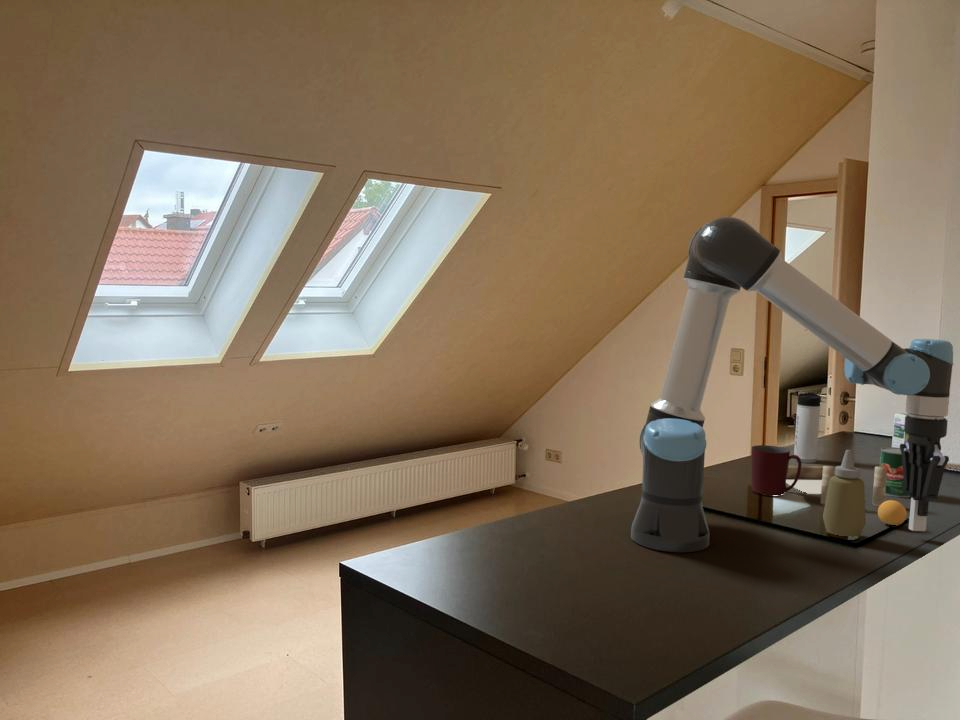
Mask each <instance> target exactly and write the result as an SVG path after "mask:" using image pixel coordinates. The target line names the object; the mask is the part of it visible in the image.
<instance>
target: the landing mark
mask: <svg viewBox="0 0 960 720" xmlns="http://www.w3.org/2000/svg"><path fill="white" fill-rule="evenodd" d="M794 480H795V479H786V484H787V485H789V487H790V486H791V485H792V483H793V482H794ZM793 489H795V490H797V489H798V490H797V491H799V490H800V491H799V492H801V491H802V492H801V493H803V492H806V493H807V494H806V495H820V494H821V489H822V479H798V481H797V483H796V484H795V486H794V487H793Z"/></svg>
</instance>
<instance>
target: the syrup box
mask: <svg viewBox="0 0 960 720" xmlns="http://www.w3.org/2000/svg"><path fill="white" fill-rule="evenodd" d="M908 414H909V413H907V412H898V413H894V417H893V427H892V441H891V447H896V448H900V444H906V443H908V438H909V436H910V435H909V434H906V433H905V432H904V425H905V417H906V416H907V415H908Z"/></svg>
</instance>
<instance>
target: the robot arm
mask: <svg viewBox="0 0 960 720" xmlns="http://www.w3.org/2000/svg"><path fill="white" fill-rule="evenodd" d="M782 253H783V252H782V250H780V249H779V248H778V247H777V246H776V245H774V244H773V243H771V242H770V240H768V239H767V238H765V237H764V236H763V235H762V234H761V233H760V232H758V231H757V230H756V229H755V228H754V227H752V226H751V224H749V223H748V222H746V221H745V220H742V219H741V218H736V217H732V216H726V217H724V216H723V217H718V218H716V219H713V220H712V221H710V222H708V223H706V224H704V225H703V226H702V227H700V228H699V229H698V230H697V231H696V232H695V233H694V235H693V237H692V238H691V240H690V242H689V246H688V260H687V262H686V263H687V264H686V267H685V272H684V275H683V281H684V283H685V285H686V286H687V293H686V296H685V300H684V304H683V307H682V308H683V309H682V312H681V315H680V319H679V323H678V326H677V327H678V328H677V331H676V335H675V339H674V343H673V346H672V350H671V353H670V358H669V362H668V365H667V369H666V373H665V377H664V381H663V385H662V388H661V392H660V396H659V398H658V399H656V400H654V401H653V402H651V403H650V406H649V408H648V409H649V410H648V413H647V416H646V421H645V424H644V425H643V428H641V431H640V433H639V434H640V435H639V441H638V443H639V449H640V453H641V455H642V459H643V460H642V462H643V463H642V481H641V482H642V483H641V485H642V486H641V500H640V503H639V506H638V508H637V510H636V513H635V515H634V519H633V521H632V524H631V526H630V527H631V531H630V538H631V539H632V541H634V543H636V544H638V545H640V546H642V547H645V548H648V549H652V550H656V551H661V552H668V553H669V552H670V553H694V552H699V551H700V552H701V551H703V550H706V549H707V548H708V547H709V546H710V536H711V535H710V529H709V527H708V523H707V519H706V516H705V511H704V508H703V492H704V475H705V474H704V473H705V457H706V453H705V452H706V449H707V439H706V431H705V430H704V428H703V427H704V424H705V420H706V417H705V415H704V413H703V412H702V409H701V406H702V403H703V399H704V395H705V391H706V388H707V384H708V381H709V377H710V372H711V370H712V365H713V363H714V358H715V355H716V351H717V347H718V343H719V340H720V336H721V332H722V328H723V325H724V321H725V317H726V314H727V309H728V306H729V303H730V299H731V298H732V297H733V296H735V295H737V294H739V293H740V291H741V288H742V289H743V290H744V291H746V292H756V293H758V294H759V295H761V296H762V297H763V298H764V299H765V300H767V301H768V302H770V303H771V304H773V305H774V306H775V307H776V308H778V309H779V310H781V311H782V312H783V313H785V314H786V315H787V316H789V317H790V318H791V319H793V320H794V321H795V322H797V323H798V324H799V325H801V326H802V327H803V328H805V329H806V331H807V330H808V331H809V332H810V333H812V334H813V335H814V336H816V337H817V338H818V339H819V340H820V341H822V342H823V343H825V344H827V346H828V347H830V348H832V349H833V350H834V351H836V352H837V353H838V354H840V355H841V356H842V357H844V366H843V367H844V375H845V378H846V380H847V382H848V383H850V384H857V385H863V386H864V385H871V386H872V385H874V386H876V387H878V388H882V389H885V390H887V391H890V392H891V393H893V394H895V395H898V396H899V395H902V396H906V402H905V413H907V414H908V415H907V416H906V417H905V425H904V432H905V433H906V434H909V435H910V436H909V438H908V443H906V444H900V450H901V454H902V465H903V482H904V490H905V491H908V492H909V496H910V497H909V498H910V501H909V502H910V504H909V519H908V520H909V521H908V529H909V530H910V531H912V532H926V531H927V520H928V513H929V505H930V503H929V502H930V501H934V500H937V499H938V496H939V492H940V489H941V485H942V480H943V475H944V472H945V468H946V466H947V464H948V463H949V461H950V458H949V456H948V455H943V453H942V452H941V450H942V446H941V439H942V438H945V437H947V434H948V419H947V418H945V417H947V416H948V415H949V405H950V394H951V383H952V382H951V381H952V373H953V366H954V347H953V346H954V345H953V343H952V342H951V341H948V340H945V339H944V340H943V339H934V338H933V339H932V338H931V339H929V338H928V339H927V338H915V339H912V340H911V342H910V346H909V348H908V347H907V348H906V347H905V348H903V347H902V346H900V345H898V344H897V343H895V342H894V341H893V340H891V338H889V337H888V336H887V335H885V334H884V333H882V332H881V331H880V330H879V329H877V328H875V326H873V325H872V324H870V323H869V322H867V321H866V320H865V319H863V318H862V317H861V316H859V315H858V314H857V313H855V312H854V311H853V310H851V309H850V308H849V307H847V306H846V305H845V304H843V302H841V301H839V300H838V299H837V298H835V296H832V294H830V293H829V292H828V291H826V290H825V289H823V288H821V286H819V285H818V284H816V282H814V281H813V280H811V279H810V278H809V277H807V276H806V275H805V274H803V273H802V272H801V271H799V270H798V269H796V267H794V266H792V265H791V264H789V262H787V261H786V260H784V259H783V255H782Z"/></svg>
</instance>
